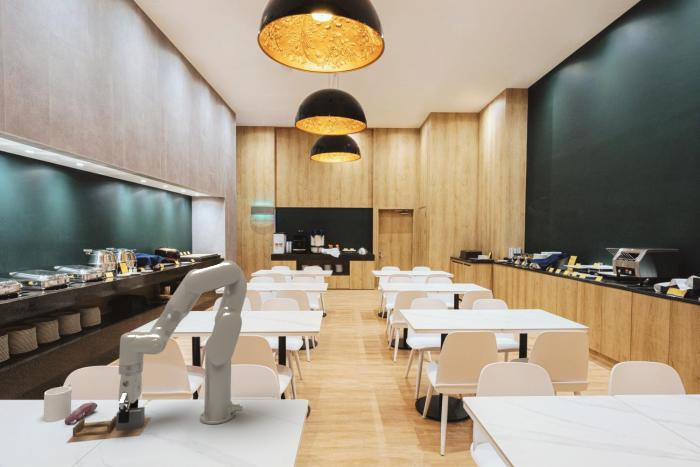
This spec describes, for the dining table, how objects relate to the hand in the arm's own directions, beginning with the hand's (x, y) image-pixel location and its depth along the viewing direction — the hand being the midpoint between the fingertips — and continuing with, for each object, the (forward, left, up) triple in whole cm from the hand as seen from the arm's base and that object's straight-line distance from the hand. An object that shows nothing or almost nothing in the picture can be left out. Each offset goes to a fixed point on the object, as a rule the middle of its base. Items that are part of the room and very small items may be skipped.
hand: (128, 416), depth 135 cm
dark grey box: (-1, 0, -4) cm, 4 cm away
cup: (+29, -19, -5) cm, 35 cm away
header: (+5, 0, -5) cm, 7 cm away
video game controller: (+20, -13, -5) cm, 24 cm away
